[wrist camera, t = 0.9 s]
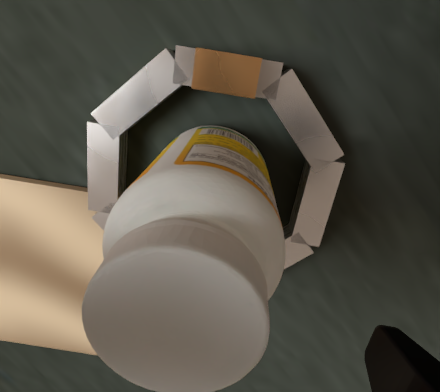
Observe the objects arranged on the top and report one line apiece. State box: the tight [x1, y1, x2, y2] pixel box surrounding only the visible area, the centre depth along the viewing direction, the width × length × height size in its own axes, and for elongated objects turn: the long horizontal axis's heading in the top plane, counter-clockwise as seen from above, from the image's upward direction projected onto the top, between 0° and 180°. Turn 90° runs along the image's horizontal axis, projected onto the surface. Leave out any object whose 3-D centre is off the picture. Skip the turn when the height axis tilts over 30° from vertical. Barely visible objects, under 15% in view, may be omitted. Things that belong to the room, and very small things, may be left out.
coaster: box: [0, 174, 104, 355], centre depth 18 cm, size 11×11×1 cm
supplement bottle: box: [82, 126, 286, 392], centre depth 11 cm, size 5×5×10 cm
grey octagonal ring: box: [87, 45, 345, 270], centre depth 14 cm, size 11×11×2 cm
